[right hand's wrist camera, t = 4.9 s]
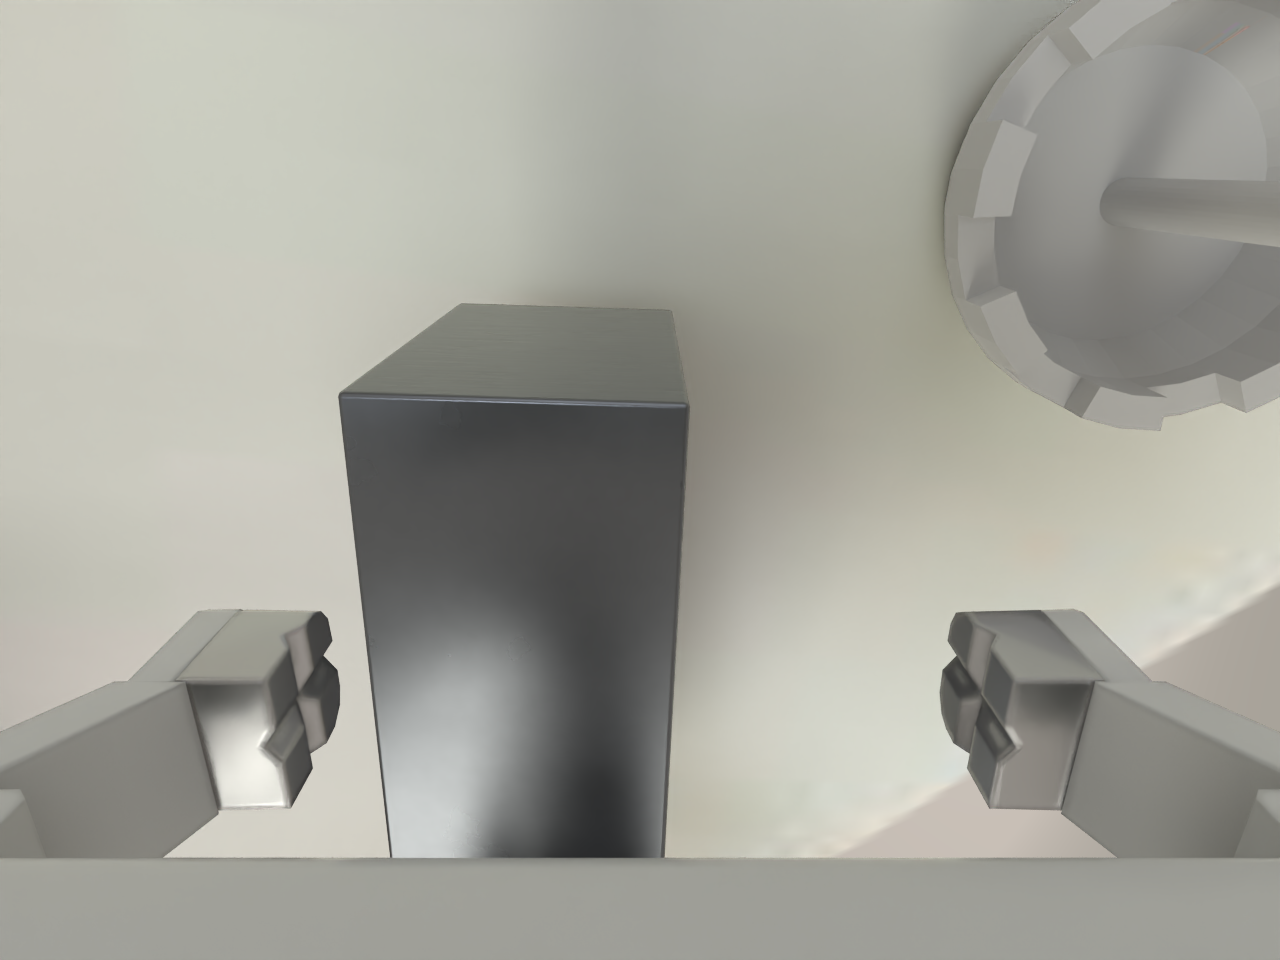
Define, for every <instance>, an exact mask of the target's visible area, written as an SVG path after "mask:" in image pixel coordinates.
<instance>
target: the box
mask: <svg viewBox="0 0 1280 960" xmlns="http://www.w3.org/2000/svg"><path fill="white" fill-rule="evenodd" d="M338 398H339V406H340V415H341V424H342V433H343V442H344V451H345V460H346V469H347V477H348V486H349V495H350V504H351V513H352V522H353V531H354V540H355V548H356V557H357V566H358V575H359V584H360V593H361V602H362V611H363V619H364V628H365V637H366V646H367V655H368V664H369V673H370V682H371V691H372V699H373V708H374V717H375V726H376V735H377V744H378V753H379V762H380V770H381V779H382V788H383V797H384V806H385V815H386V824H387V833H388V841H389V850H390V858H664V856H665V838H666V820H667V803H668V785H669V767H670V749H671V732H672V714H673V696H674V678H675V661H676V643H677V625H678V607H679V589H680V572H681V554H682V536H683V518H684V501H685V483H686V465H687V447H688V430H689V412H690V406H689V401H688V396H687V390H686V385H685V380H684V374H683V369H682V363H681V358H680V353H679V347H678V342H677V337H676V331H675V326H674V320H673V315H672V312H671V311H670V310H651V309H620V308H589V307H558V306H527V305H496V304H466V303H462V304H459V305H458V306H456V307H455V308H454V309H452V310H451V311H450V312H448V313H447V314H446V315H444V316H443V317H442V318H440V319H439V320H437V321H436V322H435V323H433V324H432V325H431V326H429V327H428V328H427V329H425V330H424V331H423V332H421V333H420V334H419V335H417V336H416V337H414V338H413V339H412V340H410V341H409V342H408V343H406V344H405V345H404V346H402V347H401V348H400V349H398V350H397V351H395V352H394V353H393V354H391V355H390V356H389V357H387V358H386V359H385V360H383V361H382V362H381V363H379V364H378V365H376V366H375V367H374V368H372V369H371V370H370V371H368V372H367V373H366V374H364V375H363V376H362V377H360V378H359V379H357V380H356V381H355V382H353V383H352V384H351V385H349V386H348V387H347V388H345V389H344V390H343V391H341V392H340V393H339V396H338Z"/></svg>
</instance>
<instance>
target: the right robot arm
mask: <svg viewBox="0 0 1280 960" xmlns="http://www.w3.org/2000/svg"><path fill="white" fill-rule="evenodd" d="M331 642H332V636H331V632H330V627H329V622H328V618H327V617H326V616H325V615H324V614H323V613H322V612H321V611H288V610H241V609H218V610H204V611H198V612H197V613H196V614H195V615H194V616H193V617H192V618H191V619H190V620H189V621H188V622H187V623H186V624H185V625H184V626H183V627H182V628H181V629H180V630H179V631H178V632H177V633H176V634H175V635H174V636H173V637H172V638H171V639H170V640H169V641H168V642H167V643H166V644H165V645H164V646H163V647H162V648H161V649H160V650H159V651H158V652H157V653H156V654H155V655H154V656H153V657H152V658H151V659H150V660H149V661H148V662H147V663H146V664H145V665H144V666H143V667H142V668H141V669H140V670H139V671H138V672H137V673H136V674H135V675H134V676H133V677H132V678H131V679H130V680H129V681H128V682H113V683H110V684H108V685H106V686H103V687H101V688H99V689H97V690H94V691H92V692H90V693H88V694H85V695H83V696H81V697H78V698H76V699H74V700H72V701H69V702H67V703H65V704H63V705H60V706H58V707H56V708H54V709H51V710H49V711H47V712H44V713H42V714H40V715H38V716H35V717H33V718H31V719H29V720H26V721H24V722H22V723H19V724H17V725H15V726H13V727H10V728H8V729H6V730H4V731H1V732H0V960H1280V732H1278V731H1276V730H1274V729H1271V728H1269V727H1267V726H1265V725H1263V724H1260V723H1258V722H1256V721H1253V720H1251V719H1249V718H1247V717H1244V716H1242V715H1240V714H1238V713H1235V712H1233V711H1231V710H1229V709H1226V708H1224V707H1222V706H1220V705H1217V704H1215V703H1213V702H1210V701H1208V700H1206V699H1204V698H1201V697H1199V696H1197V695H1195V694H1192V693H1190V692H1188V691H1186V690H1183V689H1181V688H1179V687H1177V686H1174V685H1172V684H1170V683H1167V682H1152V681H1151V680H1150V679H1149V678H1148V677H1147V676H1146V675H1145V674H1144V673H1143V672H1142V671H1141V670H1140V669H1139V668H1138V667H1137V666H1136V665H1135V664H1134V663H1133V662H1132V661H1131V660H1130V659H1129V658H1128V657H1127V656H1126V655H1125V654H1124V653H1123V652H1122V651H1121V650H1120V649H1119V648H1118V647H1117V646H1116V645H1115V644H1114V643H1113V642H1112V641H1111V640H1110V639H1109V638H1108V637H1107V636H1106V635H1105V634H1104V633H1103V632H1102V631H1101V630H1100V629H1099V628H1098V627H1097V626H1096V625H1095V624H1094V623H1093V622H1092V621H1091V620H1090V619H1089V618H1088V617H1087V616H1086V615H1085V614H1084V613H1083V612H1081V611H1078V610H1075V609H1055V610H1023V611H983V612H958V613H956V614H955V616H954V618H953V620H952V622H951V625H950V630H949V636H948V642H949V644H950V645H951V647H952V649H953V650H954V652H955V653H956V655H957V656H956V657H955V658H954V659H953V660H952V661H951V662H950V663H949V664H948V665H947V666H946V667H945V668H944V669H943V671H942V679H941V686H940V701H941V713H942V717H943V720H944V723H945V727H946V729H947V731H948V733H949V735H950V737H951V739H952V741H953V743H954V744H956V745H957V746H959V747H960V748H962V749H963V750H965V751H966V752H968V753H970V756H969V761H968V767H967V769H968V771H969V772H970V774H971V776H972V778H973V780H974V781H975V783H976V785H977V787H978V789H979V791H980V792H981V794H982V796H983V798H984V800H985V801H986V803H987V805H988V807H989V808H993V809H1030V810H1062V812H1061V814H1062V815H1064V816H1065V817H1066V818H1067V819H1069V820H1070V821H1071V822H1073V823H1074V824H1075V825H1076V826H1078V827H1079V828H1080V829H1082V830H1083V831H1084V832H1085V833H1087V834H1088V835H1089V836H1091V837H1092V838H1093V839H1094V840H1096V841H1097V842H1098V843H1099V844H1101V845H1102V846H1103V847H1105V848H1106V849H1107V850H1108V851H1110V852H1111V853H1112V854H1114V855H1115V856H1116V857H1117V858H163V857H164V856H165V855H167V854H168V853H169V852H171V851H172V850H173V849H174V848H176V847H177V846H178V845H180V844H181V843H182V842H183V841H185V840H186V839H187V838H188V837H190V836H191V835H192V834H194V833H195V832H196V831H197V830H199V829H200V828H201V827H203V826H204V825H205V824H206V823H208V822H209V821H210V820H212V819H213V818H214V817H215V816H217V815H218V813H219V812H218V810H250V809H285V808H291V807H292V805H293V803H294V802H295V800H296V798H297V796H298V794H299V792H300V791H301V789H302V787H303V785H304V783H305V782H306V780H307V778H308V776H309V774H310V772H311V771H312V769H313V767H312V761H311V756H310V753H312V752H314V751H315V750H317V749H318V748H320V747H321V746H323V745H324V744H326V743H327V741H328V739H329V737H330V735H331V733H332V731H333V729H334V727H335V724H336V719H337V715H338V710H339V706H340V684H339V677H338V671H337V669H336V668H335V667H334V666H333V665H332V664H331V663H330V662H329V661H328V660H327V659H326V658H325V657H324V656H323V655H324V653H325V652H326V650H327V649H328V647H329V645H330V644H331Z"/></svg>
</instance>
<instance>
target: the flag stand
mask: <svg viewBox="0 0 1280 960" xmlns="http://www.w3.org/2000/svg"><path fill="white" fill-rule="evenodd" d="M944 241H945V261H946V266H947V271H948V276H949V281H950V286H951V291H952V295H953V298H954V300H955V302H956V305H957V307H958V309H959V312H960V314H961V316H962V319H963V321H964V323H965V325H966V328H967V330H968V331H969V332H970V334H971V335H972V337H973V338H974V339H975V341H976V342H977V343H978V345H979V346H980V347H981V349H982V350H983V352H984V353H985V354H986V356H987V357H988V358H989V359H990V360H991V361H992V362H993V363H995V364H996V365H997V366H998V367H999V368H1000V369H1002V370H1003V371H1004V372H1005V373H1006V374H1007V375H1009V376H1010V377H1011V378H1012V379H1013V380H1014V381H1016V382H1018V383H1019V384H1021V385H1023V386H1024V387H1026V388H1028V389H1029V390H1031V391H1033V392H1035V393H1037V394H1039V395H1041V396H1043V397H1045V398H1046V399H1048V400H1050V401H1052V402H1054V403H1056V404H1058V405H1060V406H1062V407H1064V408H1065V409H1067V410H1069V411H1071V412H1072V413H1074V414H1076V415H1077V416H1079V417H1081V418H1084V419H1087V420H1091V421H1095V422H1098V423H1102V424H1106V425H1110V426H1113V427H1117V428H1125V429H1141V430H1157V431H1160V430H1161V426H1162V421H1163V417H1165V416H1173V415H1181V414H1184V413H1187V412H1191V411H1194V410H1197V409H1201V408H1204V407H1207V406H1211V405H1214V404H1217V403H1224V404H1226V405H1229V406H1231V407H1233V408H1236V409H1238V410H1241V411H1243V412H1245V413H1247V412H1249V411H1251V410H1253V409H1255V408H1257V407H1259V406H1262V405H1264V404H1266V403H1268V402H1270V401H1272V400H1274V399H1276V398H1278V397H1280V0H1079V1H1078V2H1076V3H1074V4H1073V5H1071V6H1069V7H1068V8H1067V9H1066V10H1064V11H1063V12H1062V13H1061V14H1060V15H1059V16H1057V17H1056V18H1055V19H1054V20H1053V21H1052V22H1051V23H1049V24H1048V25H1047V26H1046V27H1045V28H1044V29H1042V30H1041V31H1040V32H1039V33H1038V34H1037V35H1035V36H1034V37H1033V38H1032V39H1031V40H1030V41H1029V42H1028V43H1027V44H1026V45H1025V46H1024V48H1023V49H1022V50H1021V51H1020V52H1019V54H1018V55H1017V56H1016V57H1015V58H1014V60H1013V61H1012V62H1011V63H1010V64H1009V66H1008V67H1007V68H1006V69H1005V70H1004V72H1003V73H1002V74H1001V75H1000V76H999V78H998V79H997V80H996V81H995V83H994V85H993V87H992V88H991V90H990V92H989V93H988V95H987V97H986V98H985V100H984V102H983V104H982V105H981V107H980V109H979V110H978V112H977V114H976V115H975V117H974V119H973V121H972V122H971V124H970V127H969V129H968V132H967V134H966V137H965V139H964V140H963V143H962V146H961V148H960V151H959V154H958V156H957V159H956V161H955V164H954V167H953V169H952V172H951V175H950V181H949V186H948V191H947V196H946V201H945V206H944Z"/></svg>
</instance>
